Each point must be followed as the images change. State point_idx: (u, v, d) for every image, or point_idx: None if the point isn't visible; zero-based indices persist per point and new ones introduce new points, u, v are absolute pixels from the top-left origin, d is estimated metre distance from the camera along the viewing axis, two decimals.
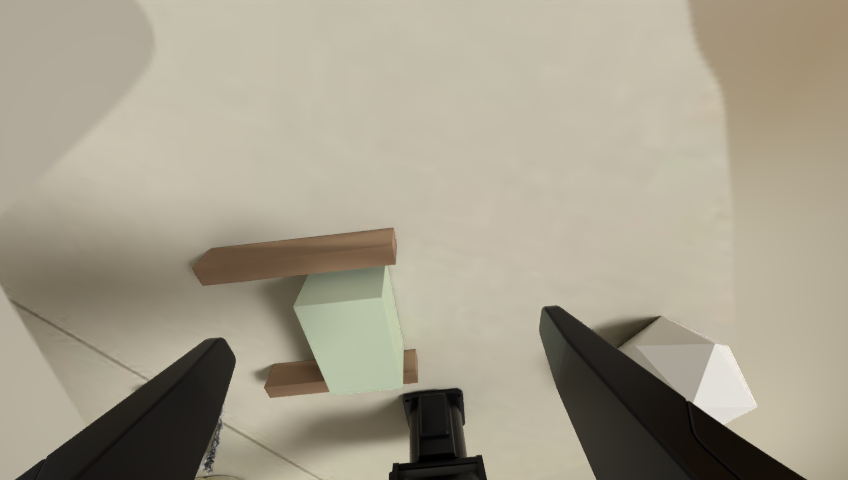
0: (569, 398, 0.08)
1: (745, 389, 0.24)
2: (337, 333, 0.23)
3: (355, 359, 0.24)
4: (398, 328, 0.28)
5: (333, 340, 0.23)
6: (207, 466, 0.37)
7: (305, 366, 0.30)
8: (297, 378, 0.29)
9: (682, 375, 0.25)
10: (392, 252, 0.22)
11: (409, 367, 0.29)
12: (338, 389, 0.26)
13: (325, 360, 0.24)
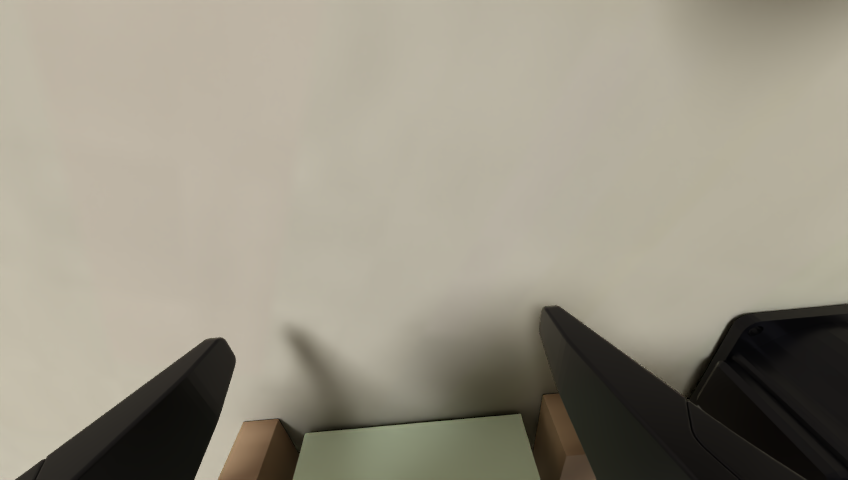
0: (569, 398, 0.08)
1: None
2: None
3: None
4: (454, 439, 0.14)
5: None
6: None
7: None
8: None
9: None
10: None
11: (559, 448, 0.13)
12: None
13: None
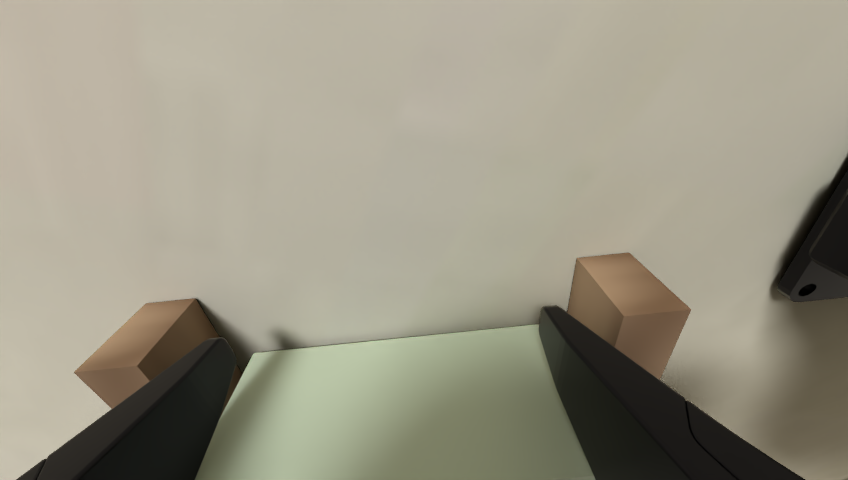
0: (568, 398, 0.08)
1: None
2: None
3: None
4: (451, 353, 0.10)
5: None
6: None
7: None
8: None
9: None
10: (98, 370, 0.08)
11: (607, 318, 0.08)
12: None
13: None
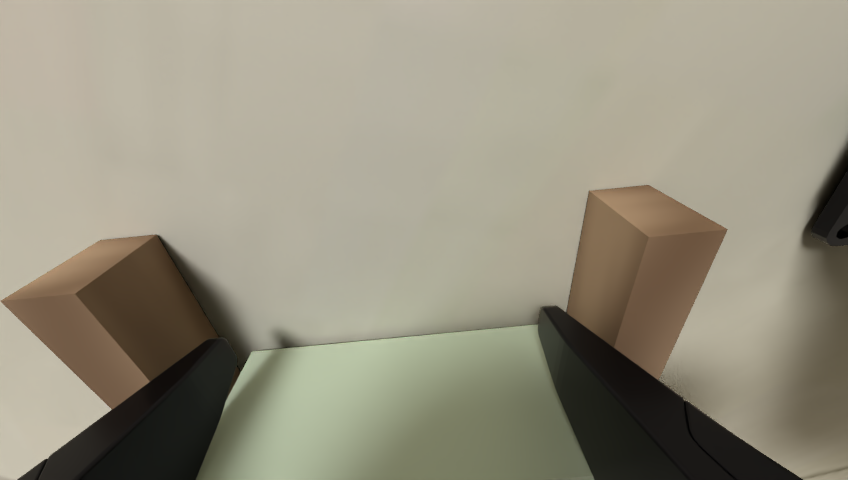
0: (567, 398, 0.08)
1: None
2: None
3: None
4: (450, 353, 0.10)
5: None
6: None
7: None
8: None
9: None
10: (30, 299, 0.07)
11: (627, 247, 0.07)
12: None
13: None
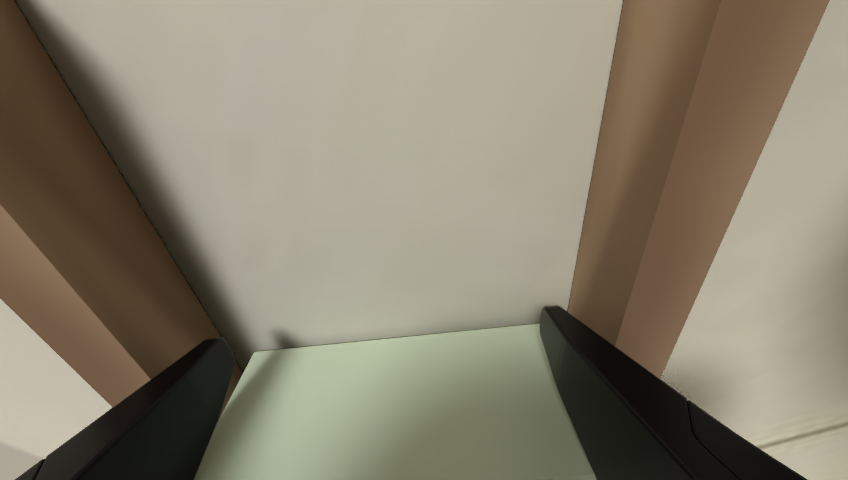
0: (569, 398, 0.08)
1: None
2: None
3: None
4: (451, 352, 0.10)
5: None
6: None
7: None
8: None
9: None
10: None
11: None
12: None
13: None
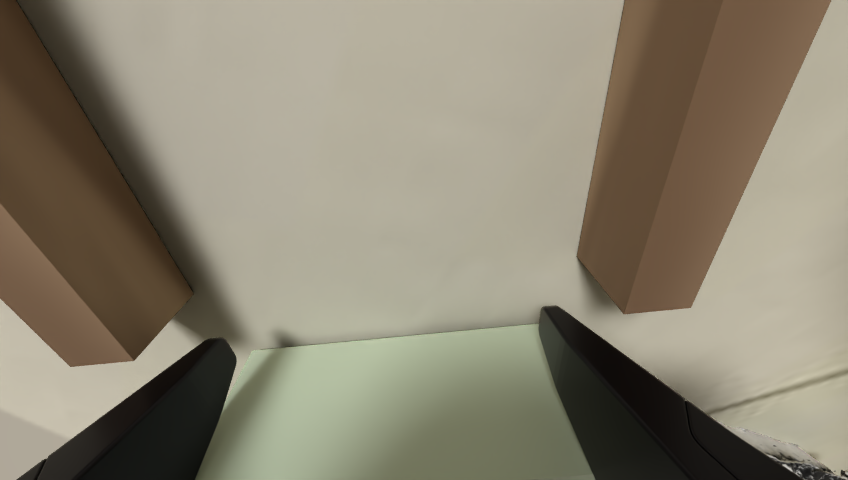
0: (568, 398, 0.08)
1: None
2: None
3: None
4: (450, 352, 0.10)
5: None
6: None
7: (611, 155, 0.08)
8: (640, 190, 0.07)
9: None
10: None
11: None
12: None
13: None
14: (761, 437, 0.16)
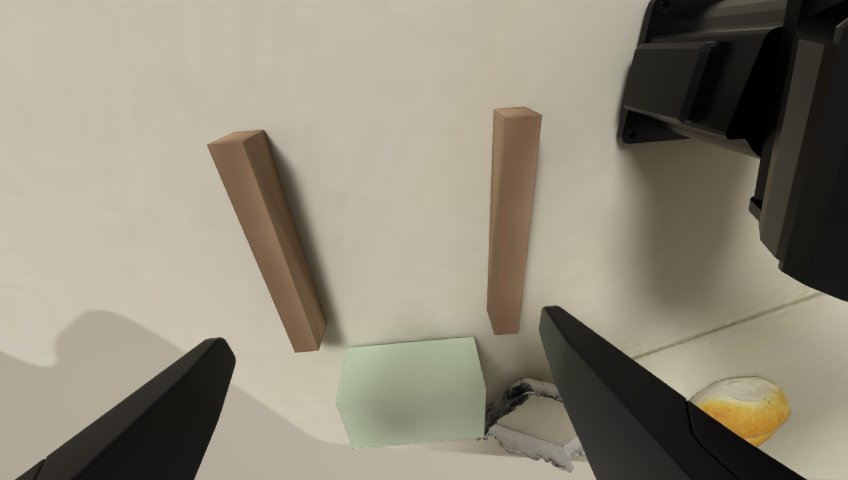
0: (569, 398, 0.08)
1: None
2: (386, 429, 0.23)
3: (426, 420, 0.23)
4: (434, 348, 0.24)
5: (397, 432, 0.23)
6: None
7: (490, 279, 0.21)
8: (494, 296, 0.20)
9: None
10: (220, 144, 0.14)
11: (503, 128, 0.15)
12: (473, 433, 0.24)
13: (425, 437, 0.24)
14: None
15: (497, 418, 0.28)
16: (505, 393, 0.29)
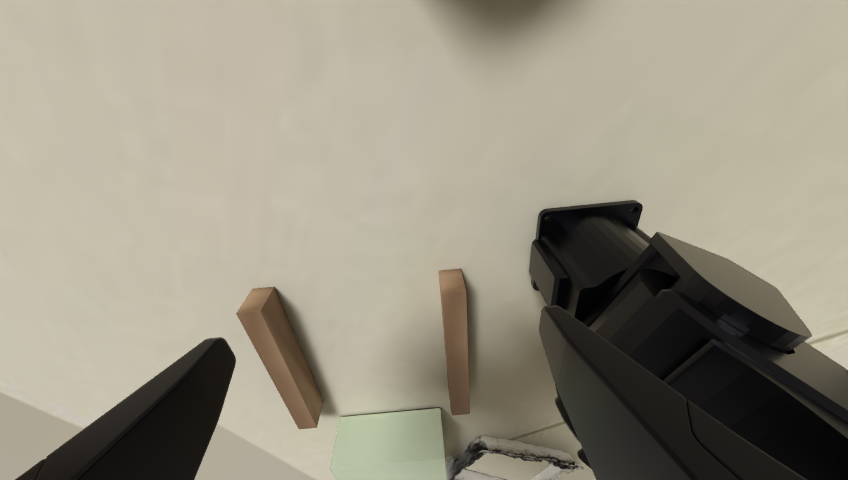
0: (569, 398, 0.08)
1: None
2: None
3: (401, 479, 0.29)
4: (408, 419, 0.31)
5: None
6: (568, 467, 0.35)
7: (447, 372, 0.28)
8: None
9: None
10: (245, 313, 0.21)
11: (441, 295, 0.21)
12: None
13: None
14: (543, 448, 0.36)
15: (461, 468, 0.35)
16: (468, 447, 0.35)
